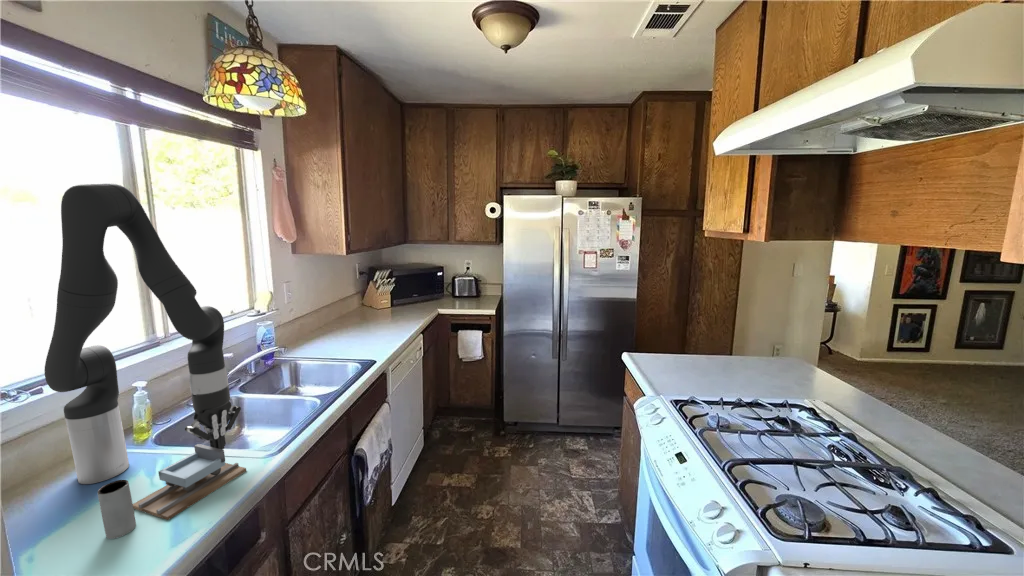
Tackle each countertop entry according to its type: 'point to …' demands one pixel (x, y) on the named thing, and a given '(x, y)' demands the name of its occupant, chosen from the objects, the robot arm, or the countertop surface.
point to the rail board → (185, 493)
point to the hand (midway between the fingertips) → (218, 449)
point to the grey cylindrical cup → (116, 508)
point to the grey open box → (194, 467)
